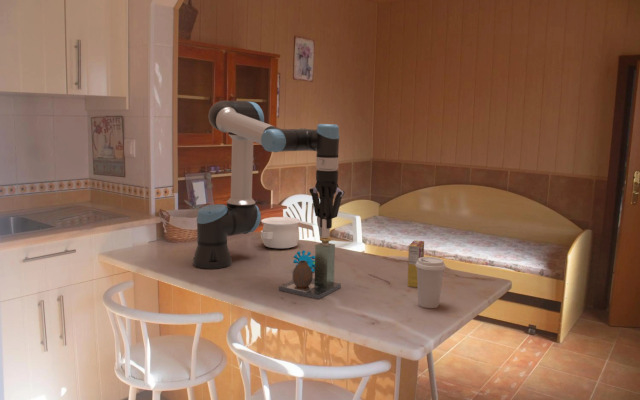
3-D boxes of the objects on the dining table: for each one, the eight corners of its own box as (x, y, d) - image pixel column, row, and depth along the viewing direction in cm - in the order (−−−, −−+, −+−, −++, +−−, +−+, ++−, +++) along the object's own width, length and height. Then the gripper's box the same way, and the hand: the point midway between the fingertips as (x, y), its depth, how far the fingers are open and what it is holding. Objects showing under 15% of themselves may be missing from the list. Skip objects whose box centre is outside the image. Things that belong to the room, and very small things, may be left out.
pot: (278, 254, 238) (278, 226, 236) (249, 247, 248) (249, 221, 246) (310, 245, 255) (310, 219, 253) (282, 239, 266) (282, 215, 264)
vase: (305, 290, 184) (305, 265, 183) (288, 286, 188) (288, 261, 187) (316, 285, 190) (316, 260, 189) (299, 281, 194) (300, 257, 192)
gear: (296, 271, 207) (292, 248, 213) (291, 278, 212) (287, 256, 217) (323, 272, 212) (318, 250, 218) (317, 279, 216) (312, 258, 222)
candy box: (411, 279, 206) (413, 239, 203) (423, 281, 204) (425, 241, 202) (406, 286, 198) (408, 244, 195) (418, 287, 196) (420, 246, 194)
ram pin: (317, 268, 192) (317, 238, 191) (322, 265, 195) (323, 236, 194) (326, 270, 190) (327, 239, 189) (332, 267, 194) (332, 237, 192)
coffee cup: (410, 299, 183) (412, 256, 181) (438, 299, 184) (440, 256, 181) (417, 310, 174) (420, 264, 171) (447, 309, 174) (450, 264, 172)
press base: (278, 290, 189) (279, 246, 187) (302, 279, 202) (303, 238, 200) (318, 299, 181) (319, 253, 179) (340, 287, 194) (341, 244, 192)
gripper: (305, 169, 188) (304, 236, 191) (338, 171, 181) (336, 241, 185) (316, 167, 194) (315, 233, 198) (349, 170, 187) (347, 237, 191)
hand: (325, 237), depth 191 cm, fingers closed
